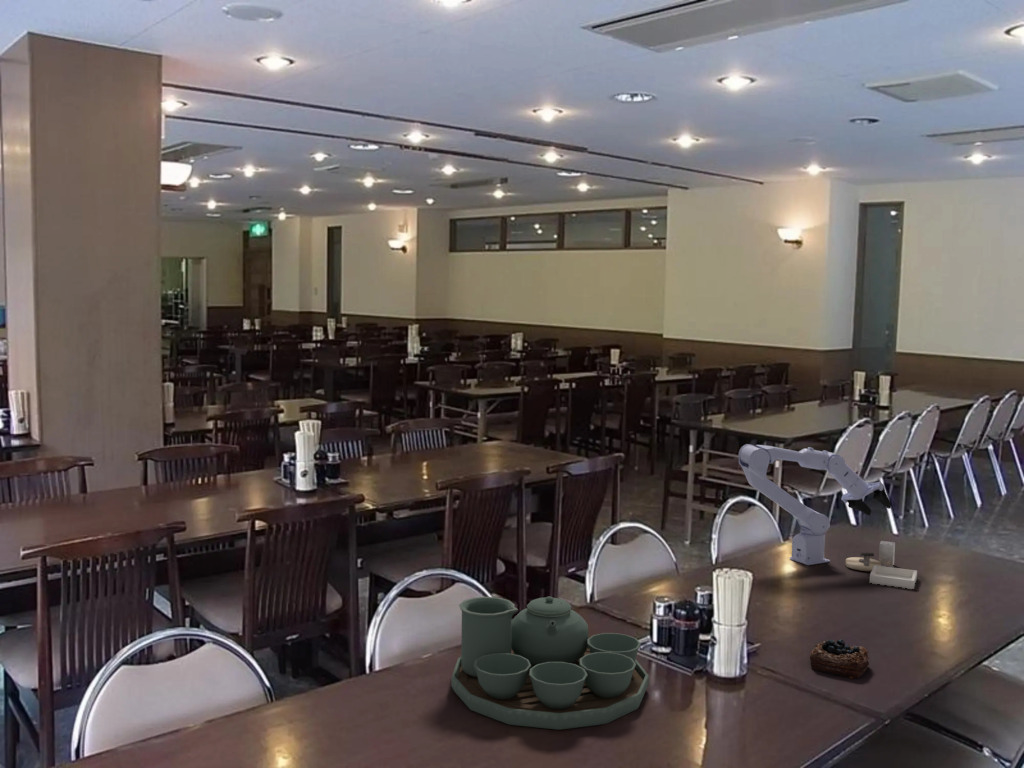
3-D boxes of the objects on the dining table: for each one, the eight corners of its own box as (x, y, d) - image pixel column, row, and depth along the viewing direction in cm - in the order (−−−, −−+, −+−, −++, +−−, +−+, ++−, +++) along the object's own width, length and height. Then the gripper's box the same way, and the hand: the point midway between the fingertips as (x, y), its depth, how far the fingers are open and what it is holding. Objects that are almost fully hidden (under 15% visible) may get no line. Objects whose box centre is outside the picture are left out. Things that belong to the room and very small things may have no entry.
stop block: (878, 566, 279) (879, 543, 279) (879, 563, 283) (881, 540, 282) (892, 568, 278) (893, 545, 277) (893, 565, 281) (895, 542, 281)
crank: (842, 561, 283) (842, 544, 283) (875, 562, 282) (876, 546, 282) (849, 570, 273) (850, 553, 273) (884, 572, 272) (885, 554, 272)
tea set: (499, 748, 162) (500, 657, 161) (427, 665, 198) (428, 591, 197) (688, 711, 178) (690, 628, 176) (589, 641, 214) (591, 572, 213)
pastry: (862, 682, 193) (863, 655, 192) (803, 670, 199) (805, 643, 198) (872, 665, 202) (873, 639, 201) (816, 654, 208) (817, 629, 208)
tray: (869, 583, 262) (869, 574, 261) (874, 573, 272) (874, 564, 272) (913, 589, 256) (914, 581, 256) (916, 579, 267) (917, 570, 266)
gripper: (872, 465, 281) (901, 493, 283) (835, 479, 292) (863, 506, 295) (867, 481, 277) (897, 510, 279) (830, 495, 288) (859, 522, 290)
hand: (879, 509), depth 286 cm, fingers open, 7 cm apart
